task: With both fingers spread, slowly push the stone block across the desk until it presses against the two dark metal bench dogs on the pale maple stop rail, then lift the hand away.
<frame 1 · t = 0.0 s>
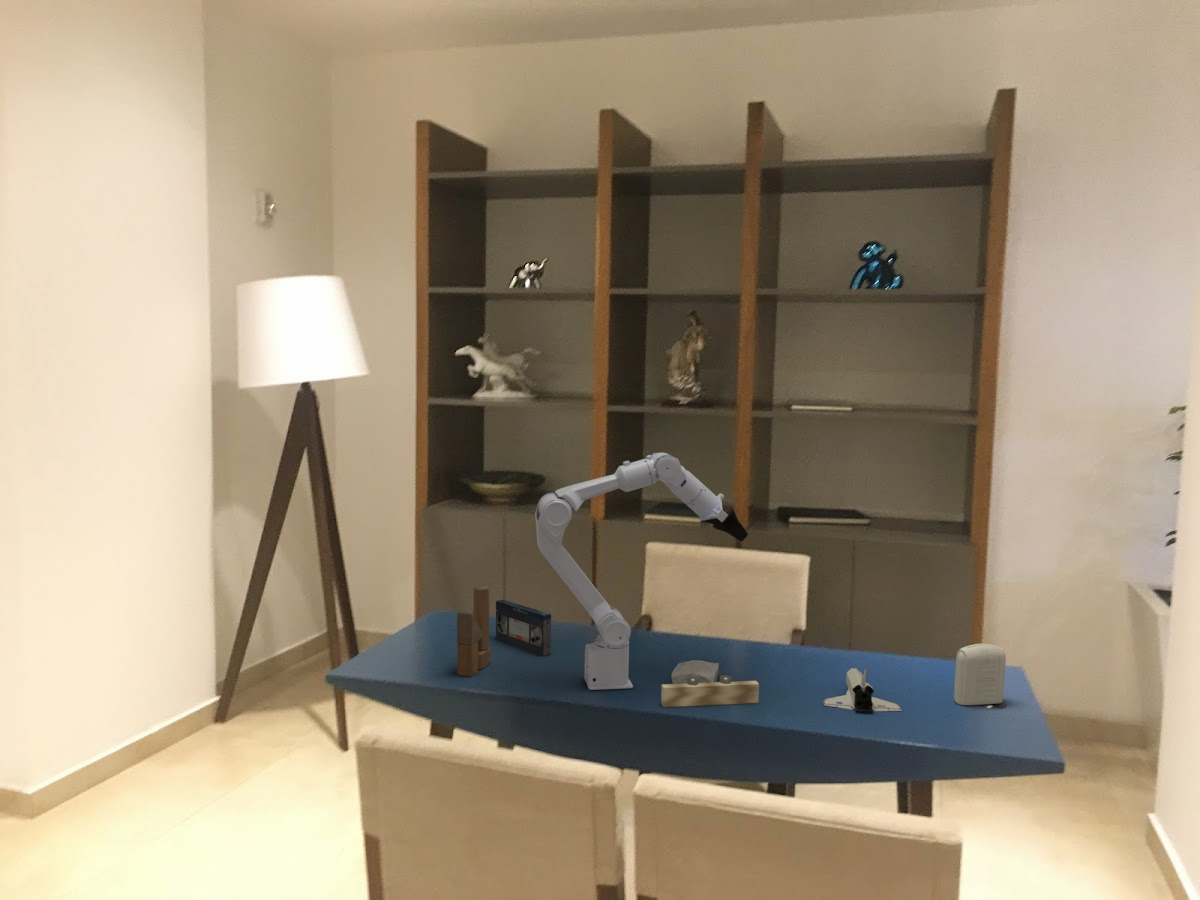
hand: (739, 534, 206), 32 cm above the table, tool tilted 50°, fingers open, 7 cm apart
bench stop: (709, 703, 193), on the table
vhs cassette tape: (522, 648, 229), on the table
stacked wooden blocks: (474, 669, 212), on the table
space shuttle model: (857, 697, 201), on the table
stone block: (694, 684, 206), on the table
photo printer: (978, 703, 197), on the table
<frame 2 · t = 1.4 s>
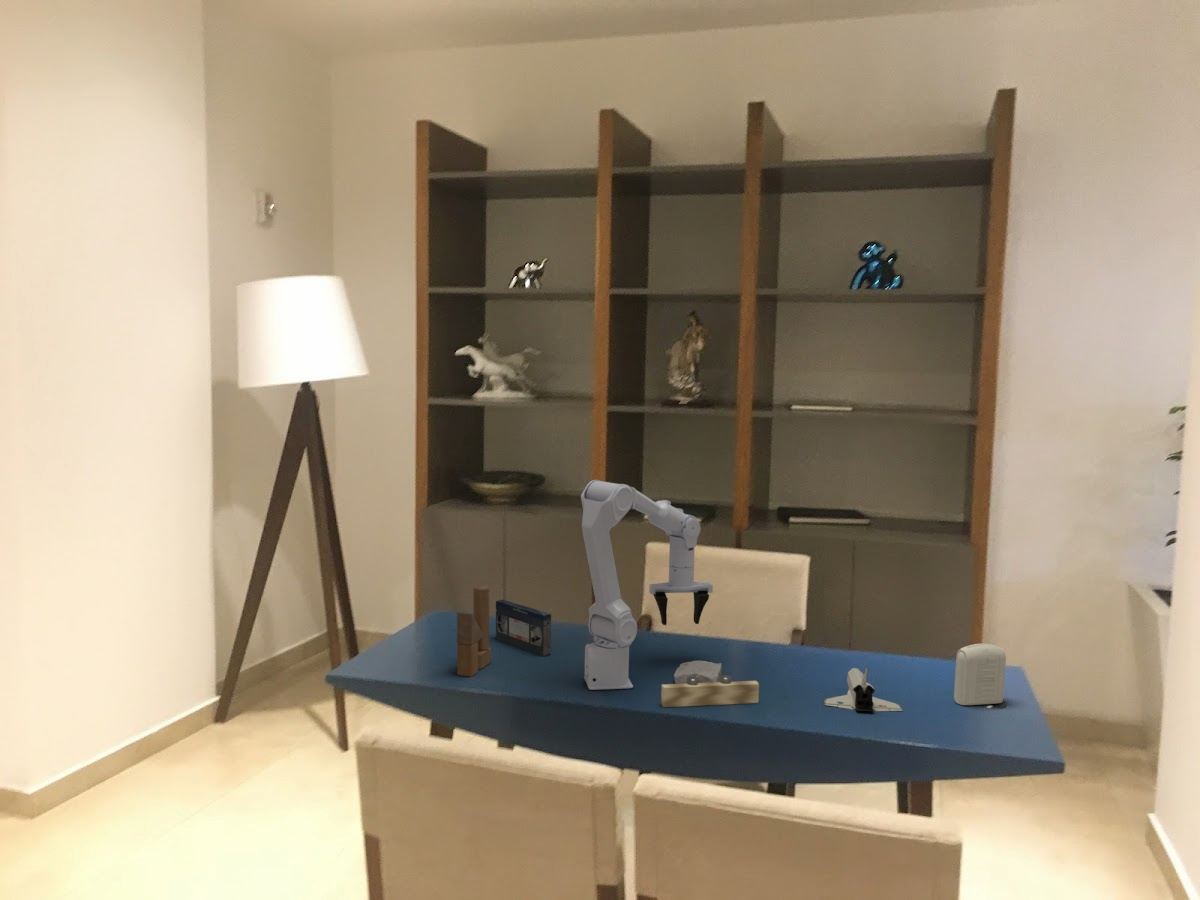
hand: (680, 623, 218), 9 cm above the table, tool pointing down, fingers open, 7 cm apart
nothing on the table moved.
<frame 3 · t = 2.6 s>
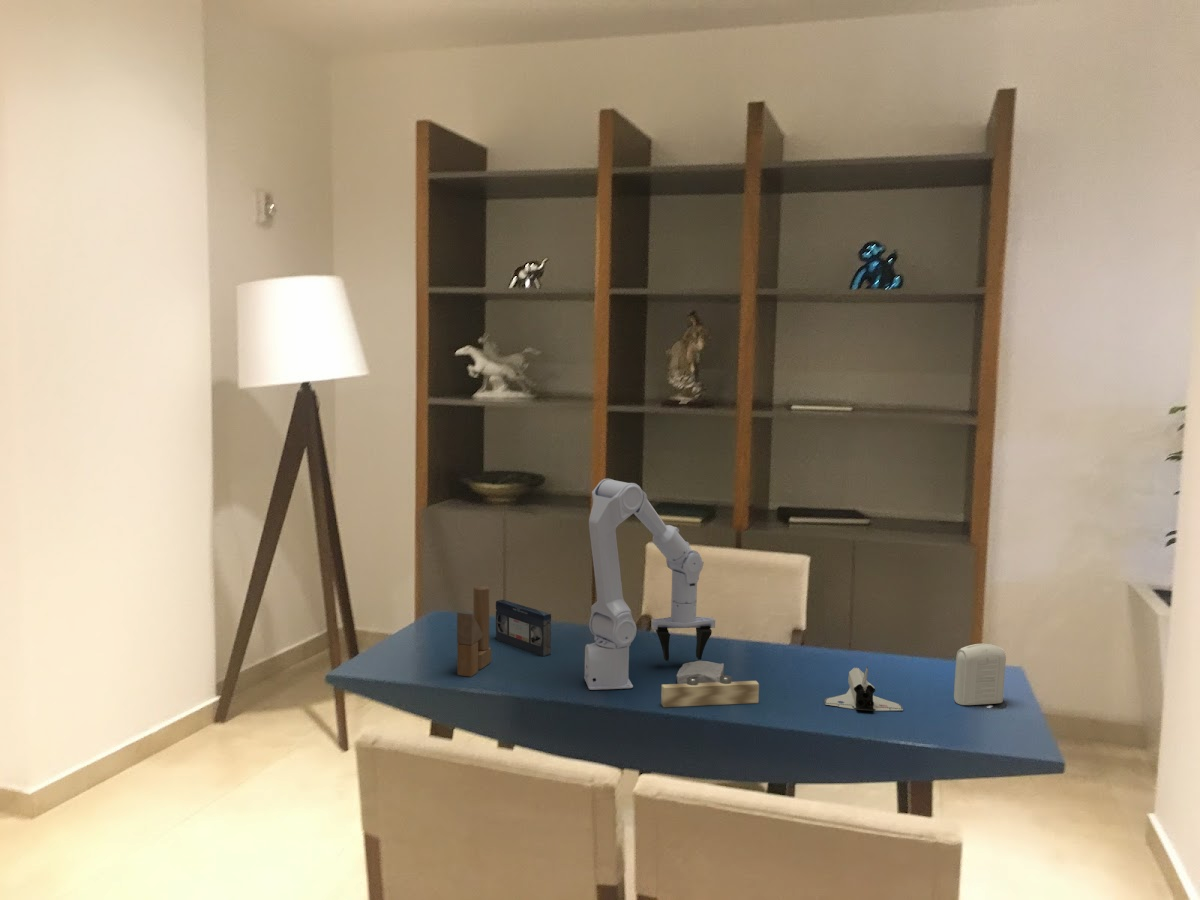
hand: (682, 658, 216), 2 cm above the table, tool pointing down, fingers open, 7 cm apart
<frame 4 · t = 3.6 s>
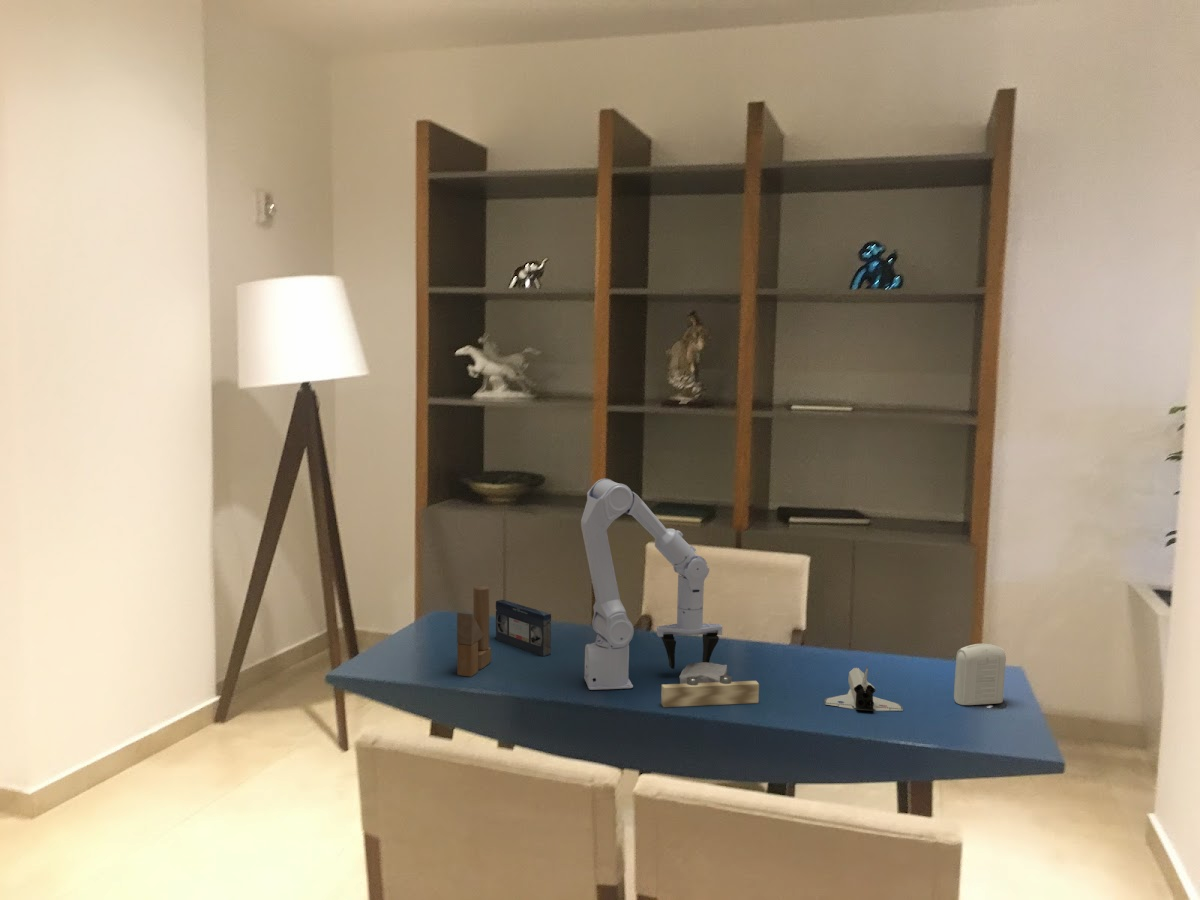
hand: (688, 666, 210), 2 cm above the table, tool pointing down, fingers open, 7 cm apart
stone block: (702, 686, 205), on the table, touching gripper
everything else where it was.
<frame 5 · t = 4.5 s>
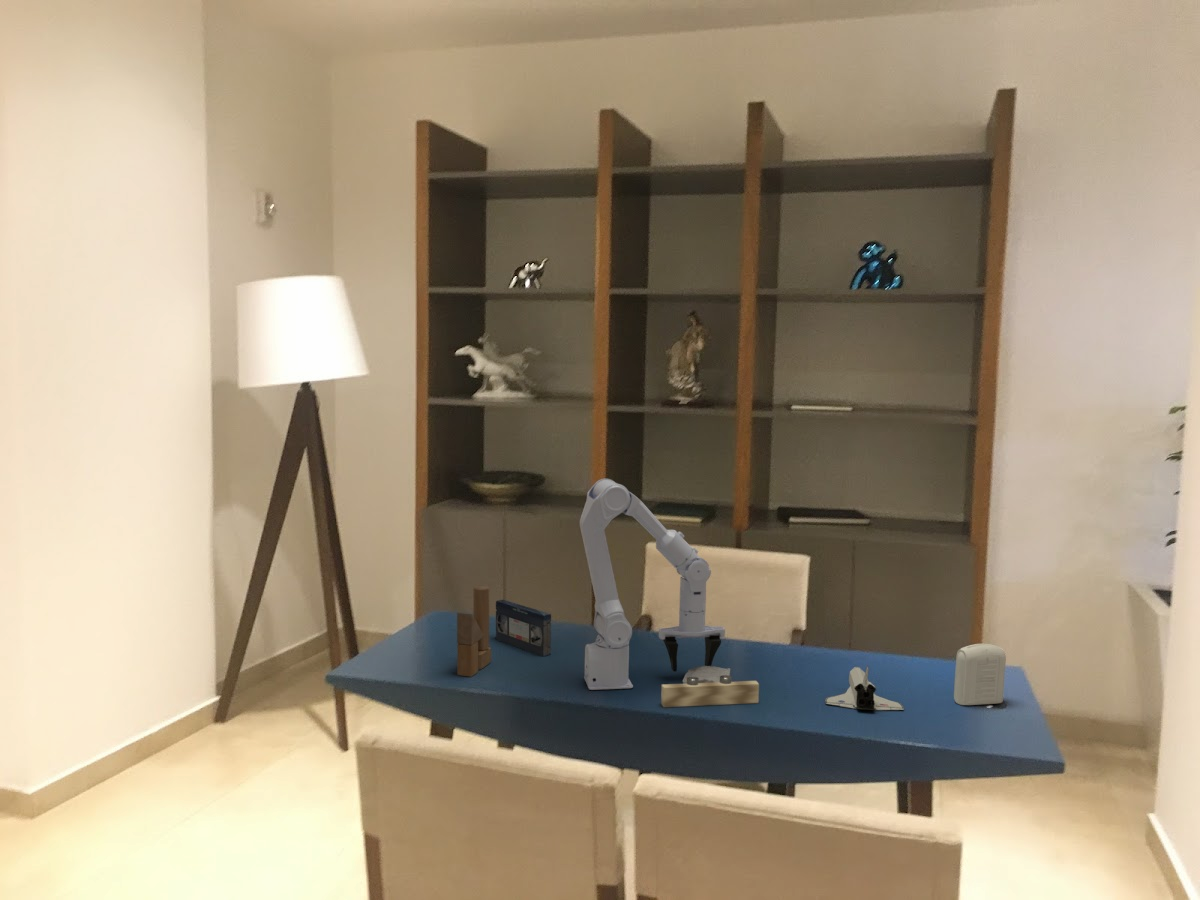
hand: (690, 669, 208), 2 cm above the table, tool pointing down, fingers open, 7 cm apart
stone block: (705, 690, 203), on the table
everything else where it was.
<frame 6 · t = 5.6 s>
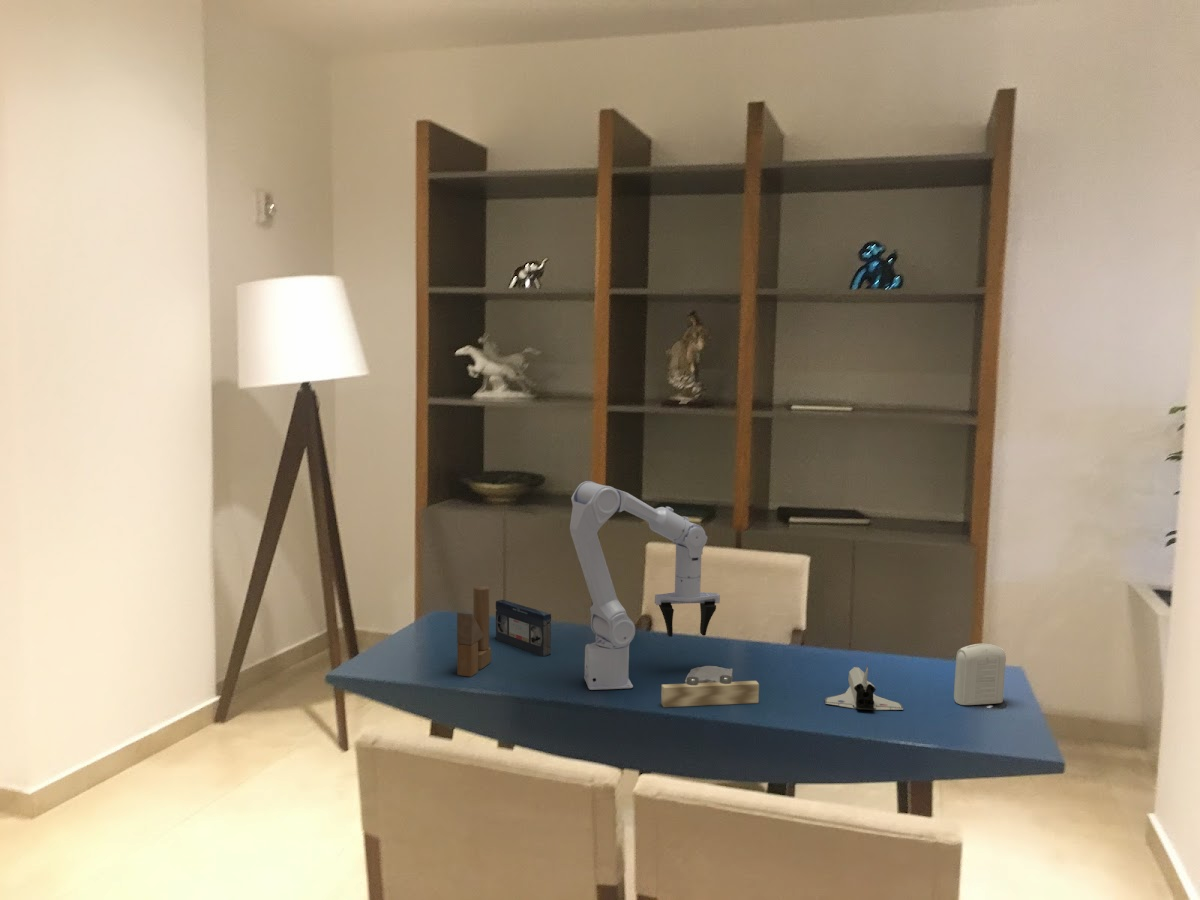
hand: (686, 634, 212), 8 cm above the table, tool pointing down, fingers open, 7 cm apart
nothing on the table moved.
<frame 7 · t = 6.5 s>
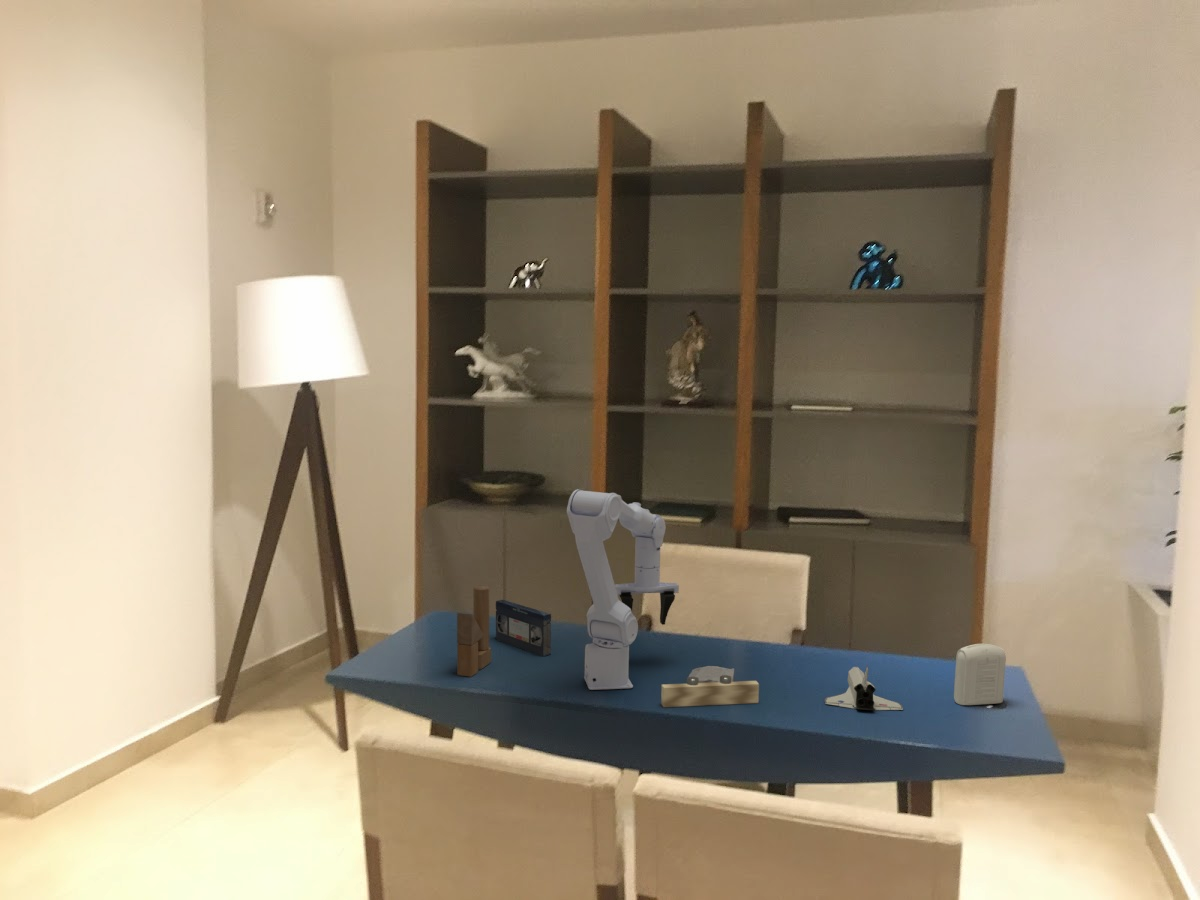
hand: (646, 624, 217), 9 cm above the table, tool pointing down, fingers open, 7 cm apart
nothing on the table moved.
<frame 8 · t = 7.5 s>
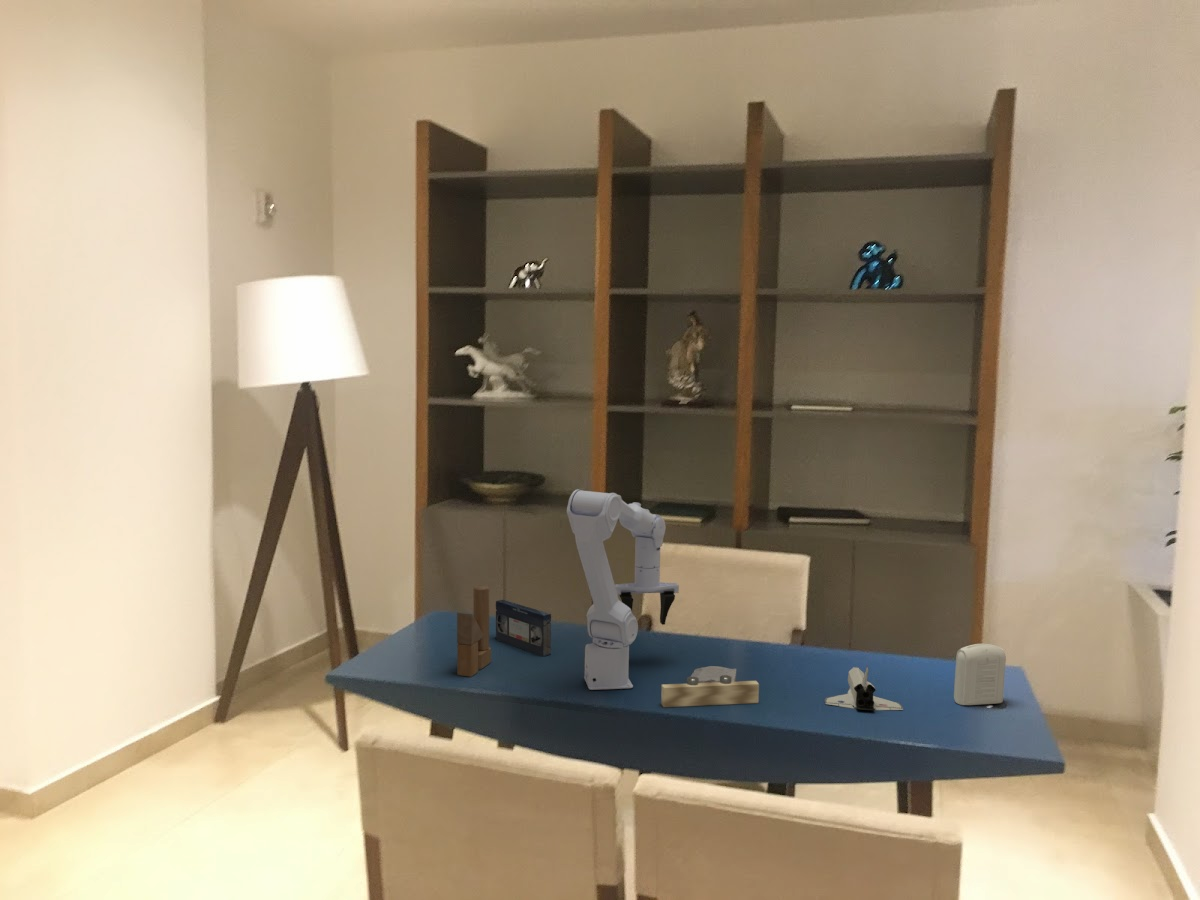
hand: (646, 624, 217), 9 cm above the table, tool pointing down, fingers open, 7 cm apart
at the end: stone block inside the target area (3.0 cm from its centre), on the table; stone block tilted 2°; stone block moved 5.3 cm from its start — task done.
